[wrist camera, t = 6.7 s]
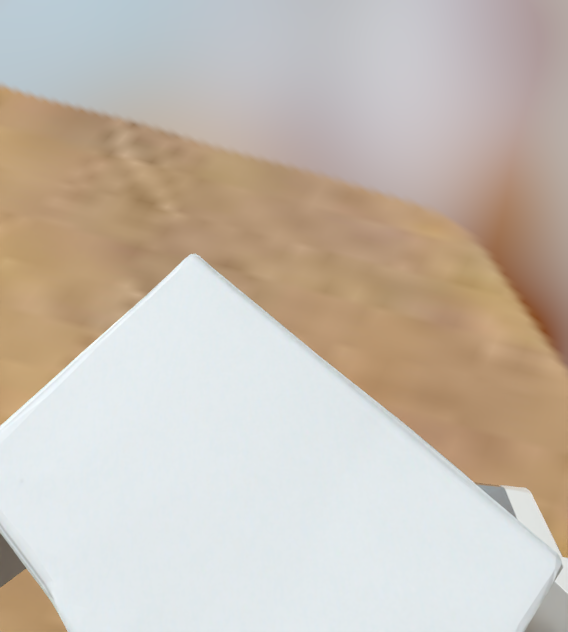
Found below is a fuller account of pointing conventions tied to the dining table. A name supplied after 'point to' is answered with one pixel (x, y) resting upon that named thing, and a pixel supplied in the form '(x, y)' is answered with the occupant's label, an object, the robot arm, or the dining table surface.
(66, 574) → the skincare box
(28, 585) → the dining table surface
